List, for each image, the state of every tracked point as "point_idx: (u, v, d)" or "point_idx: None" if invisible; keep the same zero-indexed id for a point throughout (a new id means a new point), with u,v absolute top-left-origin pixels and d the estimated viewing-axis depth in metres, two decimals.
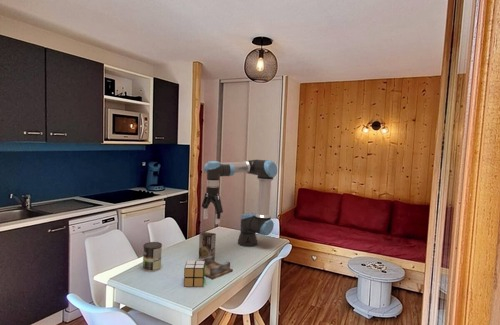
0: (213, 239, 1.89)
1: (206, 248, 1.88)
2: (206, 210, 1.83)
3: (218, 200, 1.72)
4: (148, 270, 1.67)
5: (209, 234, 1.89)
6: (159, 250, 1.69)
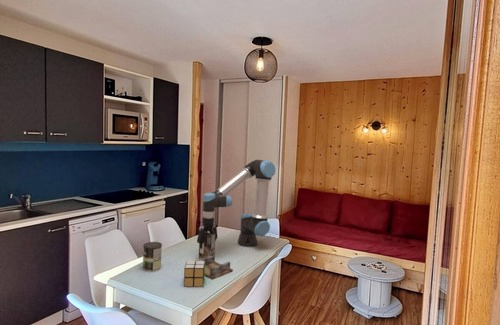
0: (213, 239, 1.89)
1: (206, 248, 1.88)
2: None
3: (199, 231, 1.86)
4: (148, 270, 1.67)
5: (209, 234, 1.89)
6: (159, 250, 1.69)
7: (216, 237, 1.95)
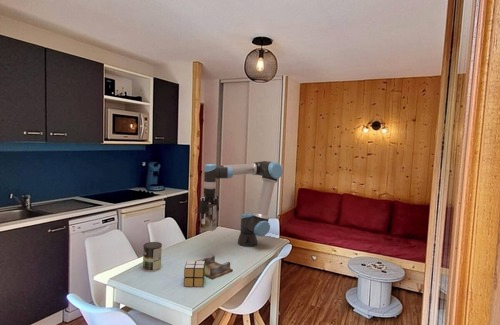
0: (214, 210, 1.88)
1: (207, 219, 1.87)
2: None
3: (201, 201, 1.85)
4: (148, 270, 1.67)
5: (210, 205, 1.88)
6: (159, 250, 1.69)
7: (217, 209, 1.94)
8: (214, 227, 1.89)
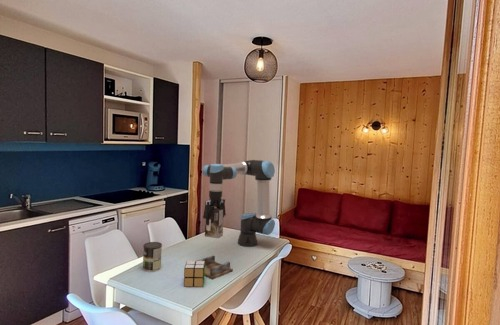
0: (221, 215, 1.69)
1: (213, 225, 1.68)
2: None
3: (206, 205, 1.66)
4: (148, 270, 1.67)
5: (216, 209, 1.70)
6: (159, 250, 1.69)
7: (224, 213, 1.75)
8: (220, 234, 1.70)
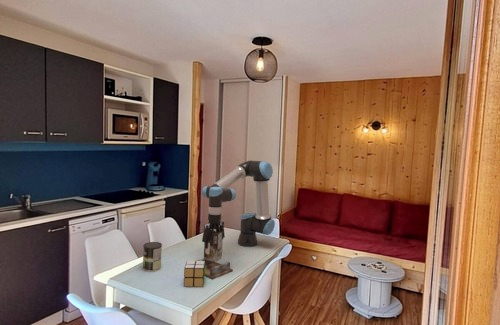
0: (220, 238, 1.70)
1: (212, 248, 1.68)
2: None
3: (205, 229, 1.66)
4: (148, 270, 1.67)
5: (215, 232, 1.70)
6: (159, 250, 1.69)
7: (223, 236, 1.76)
8: (219, 257, 1.70)
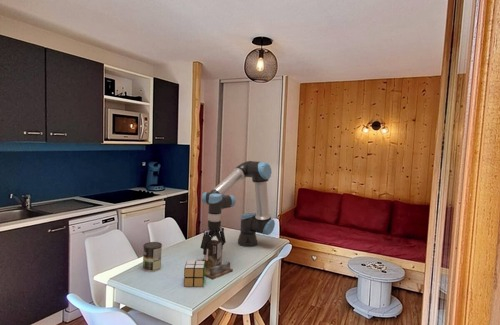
0: (219, 248, 1.70)
1: (211, 258, 1.69)
2: None
3: (204, 235, 1.66)
4: (148, 270, 1.67)
5: (215, 242, 1.70)
6: (159, 250, 1.69)
7: (224, 241, 1.77)
8: None
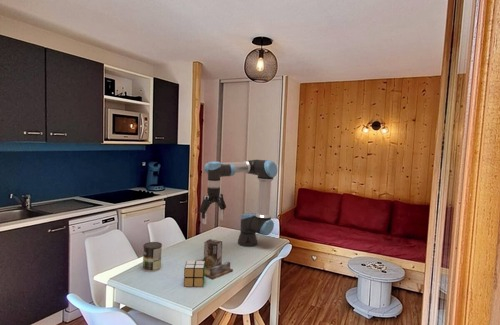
0: (219, 248, 1.70)
1: (211, 258, 1.69)
2: (220, 211, 1.83)
3: (204, 200, 1.72)
4: (148, 270, 1.67)
5: (215, 242, 1.71)
6: (159, 250, 1.69)
7: (225, 206, 1.84)
8: None
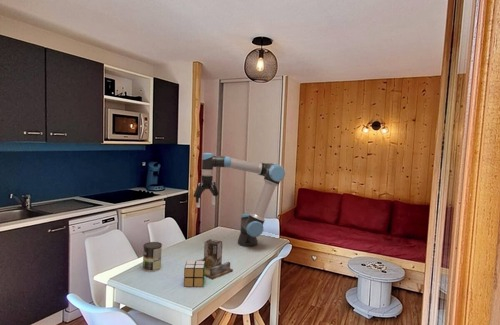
0: (219, 248, 1.70)
1: (211, 258, 1.69)
2: (213, 197, 2.05)
3: (198, 186, 1.95)
4: (148, 270, 1.67)
5: (215, 242, 1.71)
6: (159, 250, 1.69)
7: (217, 193, 2.06)
8: None
